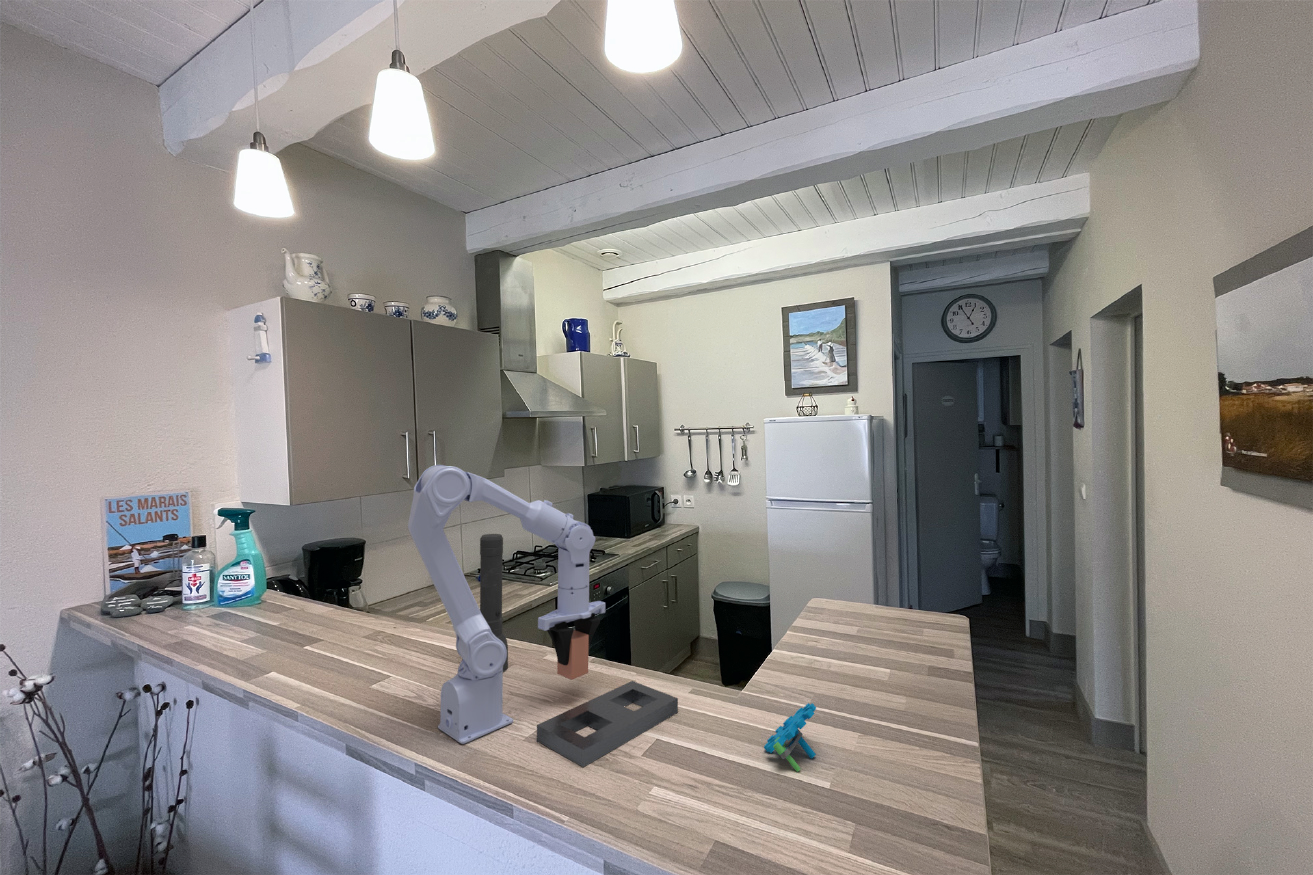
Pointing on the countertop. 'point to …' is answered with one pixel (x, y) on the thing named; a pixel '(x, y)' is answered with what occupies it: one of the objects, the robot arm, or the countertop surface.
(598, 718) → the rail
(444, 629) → the countertop surface
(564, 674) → the square block
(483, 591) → the flashlight
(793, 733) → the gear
